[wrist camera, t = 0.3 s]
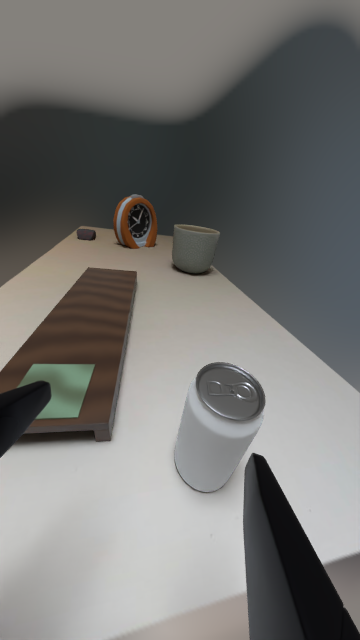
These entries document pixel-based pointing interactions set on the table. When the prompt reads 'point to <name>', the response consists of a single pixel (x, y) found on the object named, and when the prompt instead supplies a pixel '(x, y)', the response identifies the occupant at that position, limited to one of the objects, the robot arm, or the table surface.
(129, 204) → the alarm clock
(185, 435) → the can
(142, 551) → the table surface
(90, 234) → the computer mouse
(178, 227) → the planter
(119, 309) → the shelf
